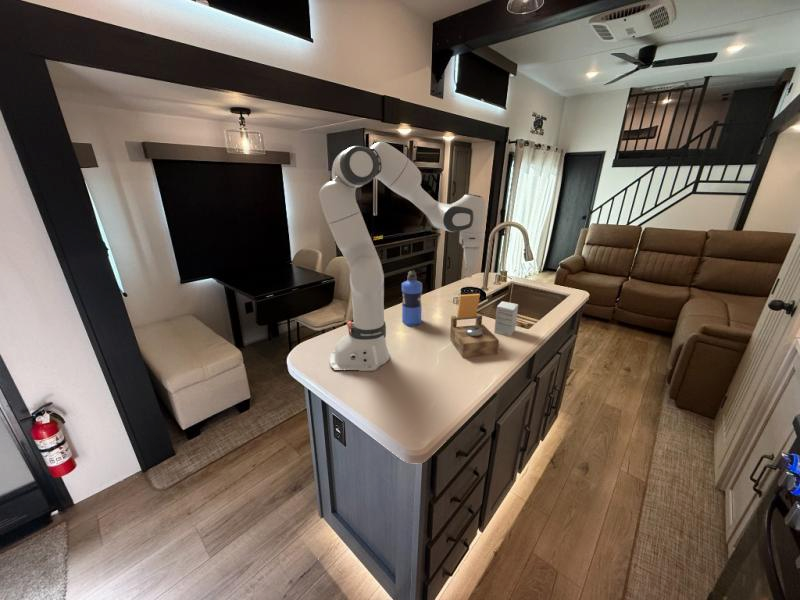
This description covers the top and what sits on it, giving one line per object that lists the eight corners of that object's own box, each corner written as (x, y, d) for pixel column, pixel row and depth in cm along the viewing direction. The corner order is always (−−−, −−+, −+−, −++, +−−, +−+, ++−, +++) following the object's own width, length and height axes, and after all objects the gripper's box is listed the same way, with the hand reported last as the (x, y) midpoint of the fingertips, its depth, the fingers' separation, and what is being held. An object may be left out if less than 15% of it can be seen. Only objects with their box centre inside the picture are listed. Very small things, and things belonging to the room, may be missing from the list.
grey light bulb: (468, 350, 120) (469, 334, 117) (462, 342, 126) (463, 327, 123) (483, 348, 121) (485, 332, 118) (477, 341, 127) (478, 325, 124)
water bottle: (401, 326, 142) (401, 273, 133) (402, 317, 151) (401, 268, 142) (421, 326, 142) (422, 273, 133) (421, 317, 151) (422, 268, 142)
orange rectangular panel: (460, 296, 121) (459, 294, 122) (457, 320, 127) (456, 318, 128) (480, 294, 123) (478, 293, 124) (475, 319, 129) (474, 317, 130)
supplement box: (498, 326, 141) (501, 300, 136) (515, 330, 137) (519, 304, 132) (493, 332, 135) (496, 306, 131) (510, 337, 131) (514, 309, 127)
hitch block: (462, 357, 116) (464, 333, 112) (448, 337, 131) (449, 316, 128) (497, 353, 118) (499, 330, 115) (479, 334, 133) (481, 313, 130)
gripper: (461, 234, 128) (459, 266, 133) (463, 243, 109) (461, 280, 114) (477, 234, 127) (474, 267, 132) (481, 243, 109) (478, 281, 114)
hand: (468, 273), depth 123 cm, fingers open, 8 cm apart
